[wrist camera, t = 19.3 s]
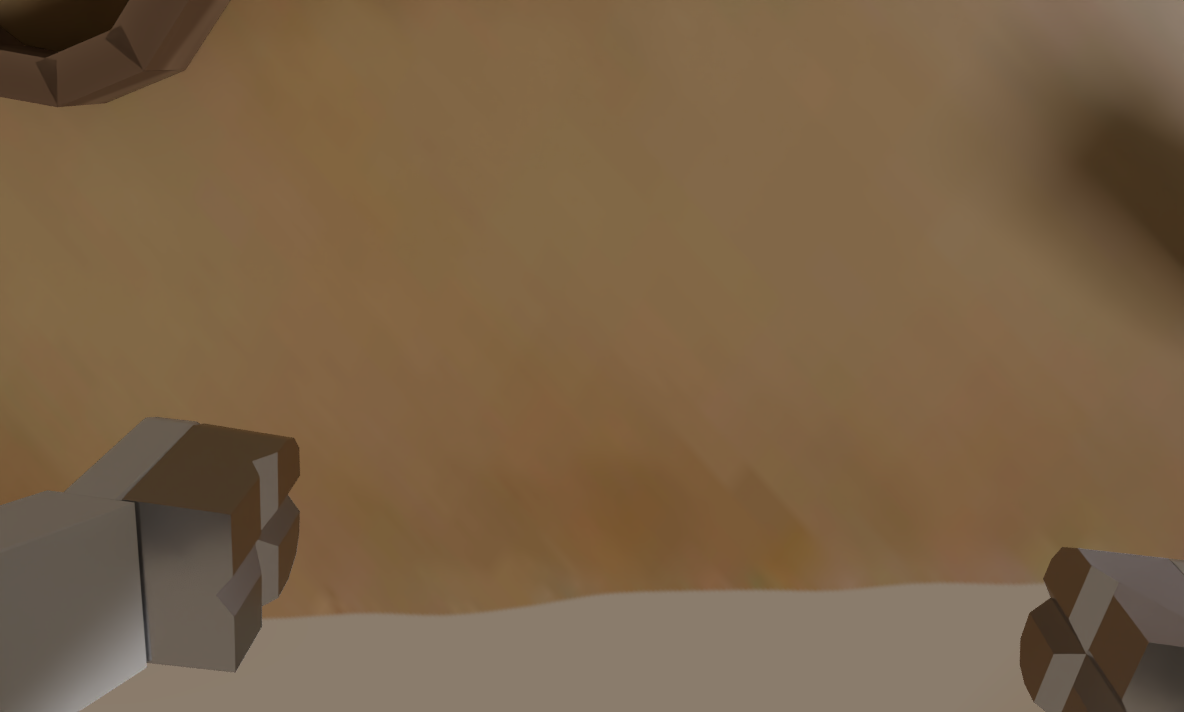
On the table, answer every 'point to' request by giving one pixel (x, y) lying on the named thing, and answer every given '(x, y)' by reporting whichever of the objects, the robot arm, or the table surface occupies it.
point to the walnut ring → (110, 55)
